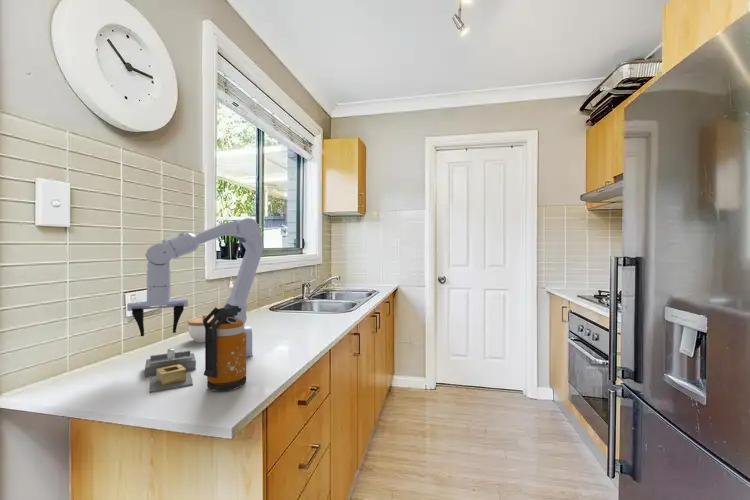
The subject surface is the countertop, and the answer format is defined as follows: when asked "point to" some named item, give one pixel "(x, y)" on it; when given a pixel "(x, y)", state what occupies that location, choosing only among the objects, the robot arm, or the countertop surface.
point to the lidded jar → (197, 329)
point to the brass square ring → (170, 375)
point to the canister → (225, 349)
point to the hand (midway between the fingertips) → (158, 333)
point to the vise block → (169, 361)
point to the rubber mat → (157, 387)
